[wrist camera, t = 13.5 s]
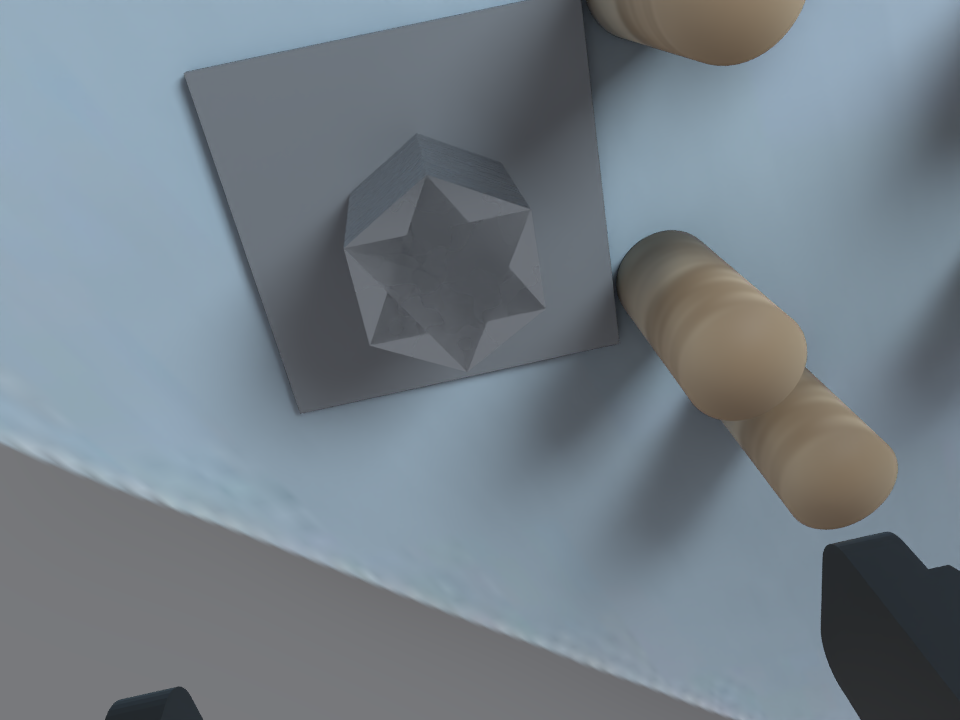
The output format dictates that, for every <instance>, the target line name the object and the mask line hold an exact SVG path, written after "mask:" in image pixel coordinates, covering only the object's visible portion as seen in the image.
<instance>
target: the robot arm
mask: <svg viewBox="0 0 960 720" xmlns="http://www.w3.org/2000/svg"><path fill="white" fill-rule="evenodd" d="M821 637H822V643H823V647H824V651H825V655H826V658H827V661H828V663H829V666H830V668H831V670H832V673H833V675H834V677H835V679H836V681H837V682H838V684H839V686H840V687H841V689H842V691H843V692H844V694H845V695H846V697H847V698H848V700H849V702H850V703H851V705H852V706H853V708H854V710H855V711H856V713H857V714H858V716H859V717H860V719H861V720H960V571H959V570H957V569H955V568H953V567H952V566H950V565H946V566H941V567H937V568H932V569H927V567H926V566H925V565H924V564H923V563H922V562H921V561H920V560H919V559H918V557H917V556H916V555H915V554H914V553H913V552H912V551H911V550H910V549H909V547H908V546H907V545H906V544H905V543H904V542H903V541H902V540H901V539H900V538H899V537H898V536H896V535H895V534H893V533H891V532H883V533H878V534H874V535H869V536H865V537H860V538H856V539H851V540H847V541H842V542H838V543H833V544H829V545H827V546H826V547H825V549H824V552H823V563H822V603H821ZM105 720H203V718H202V717H201V715H200V713H199V711H198V709H197V707H196V705H195V704H194V701H193V700H192V698H191V696H190V694H189V693H188V692H187V690H186V689H184V688H182V687H175V688H170V689H166V690H162V691H157V692H152V693H148V694H143V695H139V696H134V697H130V698H125V699H121V700H118V701H116V702H115V703H114V704H113V705H112V707H111V708H110V710H109V711H108V714H107V716H106V719H105Z"/></svg>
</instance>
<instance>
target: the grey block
mask: <svg viewBox="0 0 960 720" xmlns="http://www.w3.org/2000/svg"><path fill="white" fill-rule="evenodd" d="M344 252H345V255H346V259H347V263H348V266H349V270H350V274H351V278H352V281H353V285H354V289H355V292H356V296H357V300H358V304H359V307H360V311H361V315H362V318H363V322H364V326H365V330H366V333H367V337H368V341H369V344H370V346H373V347H377V348H380V349H384V350H388V351H391V352H395V353H399V354H403V355H406V356H410V357H414V358H417V359H421V360H425V361H429V362H432V363H436V364H440V365H443V366H447V367H451V368H455V369H458V370H462V371H466V372H468V371H469V370H470V369H472V368H473V367H474V366H475V365H477V364H478V363H479V362H480V361H482V360H483V359H484V358H485V357H487V356H488V355H489V354H490V353H492V352H493V351H494V350H495V349H497V348H498V347H499V346H500V345H501V344H503V343H504V342H505V341H506V340H508V339H509V338H510V337H511V336H513V335H514V334H515V333H516V332H518V331H519V330H520V329H521V328H523V327H524V326H525V325H526V324H528V323H529V322H530V321H531V320H533V319H534V318H535V317H536V316H537V315H539V314H540V313H541V312H542V311H544V310H545V309H546V306H545V300H544V293H543V286H542V279H541V273H540V266H539V259H538V252H537V245H536V239H535V232H534V225H533V218H532V212H531V208H530V207H529V205H528V204H527V202H526V201H525V199H524V197H523V196H522V194H521V193H520V191H519V189H518V188H517V186H516V185H515V183H514V182H513V180H512V178H511V177H510V175H509V174H508V172H507V170H506V169H505V167H504V166H503V164H502V163H501V162H499V161H496V160H493V159H490V158H487V157H484V156H481V155H478V154H476V153H473V152H470V151H467V150H464V149H461V148H458V147H455V146H452V145H450V144H447V143H444V142H441V141H438V140H435V139H432V138H429V137H426V136H423V135H421V134H418V133H416V134H415V135H414V136H413V137H412V138H410V139H409V140H408V141H407V142H406V143H405V144H404V145H403V146H402V147H401V148H399V149H398V150H397V151H396V152H395V153H394V154H393V155H392V156H391V157H390V158H388V159H387V160H386V161H385V162H384V163H383V164H382V165H381V166H380V167H378V168H377V169H376V170H375V171H374V172H373V173H372V174H371V175H370V176H369V177H367V178H366V179H365V180H364V181H363V182H362V183H361V184H360V185H359V186H358V187H356V188H355V189H354V190H353V191H352V192H351V193H350V196H349V205H348V214H347V223H346V232H345V240H344Z"/></svg>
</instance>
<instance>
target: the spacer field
mask: <svg viewBox="0 0 960 720" xmlns="http://www.w3.org/2000/svg"><path fill="white" fill-rule="evenodd" d="M586 2H587V5H588V8H589V10H590V12H591V14H592V15H593V17H594V19H595V20H596V21H597V22H598V23H599V25H601V26H602V27H603V28H604V29H605V30H606V31H608V32H609V33H611V34H613V35H615V36H617V37H620V38H623V39H626V40H630V41H633V42H636V43H640V44H643V45H646V46H650V47H653V48H656V49H660V50H663V51H666V52H669V53H673V54H676V55H679V56H683V57H686V58H689V59H693V60H696V61H699V62H703V63H706V64H710V65H717V66H729V65H736V64H740V63H743V62H747V61H749V60H752V59H754V58H756V57H758V56H760V55H761V54H763V53H765V52H766V51H768V50H769V49H770V48H772V47H773V46H774V45H775V44H776V43H777V42H779V41H780V40H781V39H782V38H783V37H784V35H785V34H786V33H787V32H788V31H789V29H790V28H791V27H792V25H793V24H794V22H795V21H796V19H797V17H798V16H799V14H800V12H801V10H802V8H803V5H804V3H805V0H586ZM616 289H617V294H618V298H619V300H620V302H621V304H622V306H623V307H624V309H625V310H626V312H627V313H628V314H629V316H630V317H631V318H632V320H633V321H634V323H635V324H636V325H637V327H638V328H639V330H640V331H641V332H642V334H643V335H644V336H645V338H646V339H647V341H648V342H649V343H650V345H651V346H652V348H653V349H654V350H655V352H656V353H657V355H658V356H659V357H660V359H661V360H662V361H663V363H664V364H665V366H666V367H667V368H668V370H669V371H670V373H671V374H672V375H673V377H674V378H675V379H676V381H677V382H678V384H679V385H680V386H681V388H682V389H683V391H684V392H685V393H686V395H687V396H688V398H689V399H690V400H691V402H692V403H693V404H694V406H695V407H696V408H697V409H698V410H700V411H701V412H703V413H704V414H706V415H708V416H710V417H712V418H715V419H719V420H721V421H722V422H723V424H724V425H725V426H726V428H727V429H728V430H729V432H730V433H731V434H732V436H733V437H734V438H735V439H736V441H737V442H738V443H739V445H740V446H741V447H742V449H743V450H744V451H745V453H746V454H747V455H748V457H749V458H750V459H751V461H752V462H753V463H754V465H755V466H756V467H757V469H758V470H759V471H760V473H761V474H762V475H763V477H764V478H765V479H766V480H767V482H768V483H769V484H770V486H771V487H772V488H773V490H774V491H775V492H776V494H777V495H778V496H779V498H780V499H781V500H782V502H783V503H784V504H785V506H786V507H787V508H788V510H789V511H790V512H791V514H792V515H793V516H794V517H795V518H796V519H797V520H798V521H799V522H801V523H802V524H804V525H806V526H808V527H811V528H815V529H825V530H827V529H837V528H842V527H845V526H849V525H851V524H854V523H856V522H858V521H860V520H862V519H864V518H865V517H867V516H868V515H870V514H871V513H872V512H874V511H875V510H876V509H877V508H878V507H879V506H880V505H881V504H882V503H883V502H884V501H885V500H886V498H887V497H888V496H889V494H890V492H891V491H892V489H893V486H894V484H895V481H896V478H897V473H898V464H897V459H896V456H895V454H894V452H893V450H892V449H891V448H890V446H889V445H888V444H887V443H886V442H884V441H883V440H882V439H881V438H880V437H879V436H878V435H877V434H876V433H875V432H874V431H873V430H872V429H871V428H870V427H868V426H867V425H866V424H865V423H864V422H863V421H862V420H861V419H860V418H859V417H858V416H857V415H856V414H855V413H854V412H852V411H851V410H850V409H849V408H848V407H847V406H846V405H845V404H844V403H843V402H842V401H841V400H840V399H839V398H838V397H837V396H835V395H834V394H833V393H832V392H831V391H830V390H829V389H828V388H827V387H826V386H825V385H824V384H823V383H822V382H821V381H819V380H818V379H817V378H816V377H815V376H814V375H813V374H812V373H811V372H810V371H809V370H808V369H807V368H806V367H805V364H806V360H807V345H806V340H805V337H804V334H803V332H802V330H801V329H800V327H799V326H798V324H797V323H796V322H795V321H794V320H793V319H792V318H790V317H789V316H788V315H787V314H786V313H785V312H783V311H782V310H781V309H780V308H779V307H778V306H776V305H775V304H774V303H773V302H772V301H771V300H769V299H768V298H767V297H766V296H765V295H764V294H762V293H761V292H760V291H759V290H758V289H756V288H755V287H754V286H753V285H752V284H751V283H749V282H748V281H747V280H746V279H745V278H744V277H742V276H741V275H740V274H739V273H738V272H737V271H735V270H734V269H733V268H732V267H731V266H730V265H728V264H727V263H726V262H725V261H724V260H722V259H721V258H720V257H719V256H718V255H717V254H715V253H714V252H713V251H712V250H711V249H710V248H708V247H707V246H706V245H705V244H704V243H703V242H701V241H700V240H699V239H698V238H696V237H695V236H693V235H691V234H689V233H686V232H682V231H676V230H668V231H661V232H658V233H654V234H652V235H649V236H647V237H646V238H644V239H642V240H641V241H639V242H638V243H637V244H636V245H635V246H633V247H632V248H631V249H630V251H629V252H628V253H627V254H626V256H625V257H624V259H623V261H622V263H621V265H620V267H619V270H618V274H617V280H616Z"/></svg>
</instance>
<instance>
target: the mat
mask: <svg viewBox="0 0 960 720" xmlns="http://www.w3.org/2000/svg"><path fill="white" fill-rule="evenodd" d="M184 76H185V78H186V81H187V84H188V87H189V90H190V93H191V96H192V99H193V102H194V105H195V108H196V111H197V114H198V116H199V119H200V122H201V125H202V128H203V131H204V134H205V137H206V140H207V143H208V146H209V149H210V151H211V154H212V157H213V160H214V163H215V166H216V169H217V172H218V175H219V178H220V181H221V184H222V186H223V189H224V192H225V195H226V198H227V201H228V204H229V207H230V210H231V213H232V216H233V219H234V222H235V224H236V227H237V230H238V233H239V236H240V239H241V242H242V245H243V248H244V251H245V254H246V257H247V259H248V262H249V265H250V268H251V271H252V274H253V277H254V280H255V283H256V286H257V289H258V292H259V294H260V297H261V300H262V303H263V306H264V309H265V312H266V315H267V318H268V321H269V324H270V327H271V329H272V332H273V335H274V338H275V341H276V344H277V347H278V350H279V353H280V356H281V359H282V362H283V365H284V367H285V370H286V373H287V376H288V379H289V382H290V385H291V388H292V391H293V394H294V397H295V400H296V402H297V405H298V408H299V411H300V414H301V413H306V412H310V411H315V410H319V409H324V408H329V407H333V406H338V405H342V404H347V403H351V402H356V401H360V400H365V399H369V398H374V397H379V396H383V395H388V394H392V393H397V392H401V391H406V390H410V389H415V388H419V387H424V386H429V385H433V384H438V383H442V382H447V381H451V380H456V379H460V378H465V377H469V376H474V375H478V374H483V373H488V372H492V371H497V370H501V369H506V368H510V367H515V366H519V365H524V364H528V363H533V362H538V361H542V360H547V359H551V358H556V357H560V356H565V355H569V354H574V353H578V352H583V351H588V350H592V349H597V348H601V347H606V346H610V345H615V344H619V334H618V325H617V316H616V307H615V298H614V289H613V280H612V271H611V262H610V253H609V244H608V235H607V227H606V218H605V209H604V200H603V191H602V182H601V173H600V164H599V155H598V146H597V137H596V128H595V120H594V111H593V102H592V93H591V84H590V75H589V66H588V57H587V48H586V39H585V30H584V21H583V12H582V4H581V0H526V1H521V2H516V3H511V4H507V5H502V6H497V7H492V8H487V9H483V10H478V11H473V12H468V13H464V14H459V15H454V16H449V17H445V18H440V19H435V20H430V21H426V22H421V23H416V24H411V25H407V26H402V27H397V28H392V29H387V30H383V31H378V32H373V33H368V34H364V35H359V36H354V37H349V38H345V39H340V40H335V41H330V42H326V43H321V44H316V45H311V46H307V47H302V48H297V49H292V50H288V51H283V52H278V53H273V54H268V55H264V56H259V57H254V58H249V59H245V60H240V61H235V62H230V63H226V64H221V65H216V66H211V67H207V68H202V69H197V70H192V71H188V72H185V73H184ZM416 133H418V134H421V135H423V136H426V137H429V138H432V139H435V140H438V141H441V142H444V143H447V144H450V145H452V146H455V147H458V148H461V149H464V150H467V151H470V152H473V153H476V154H478V155H481V156H484V157H487V158H490V159H493V160H496V161H499V162H501V163H502V164H503V166H504V167H505V169H506V170H507V172H508V174H509V175H510V177H511V178H512V180H513V182H514V183H515V185H516V186H517V188H518V189H519V191H520V193H521V194H522V196H523V197H524V199H525V201H526V202H527V204H528V205H529V207H530V208H531V212H532V218H533V225H534V232H535V239H536V245H537V252H538V259H539V266H540V273H541V279H542V286H543V293H544V300H545V306H546V309H545V310H544V311H542V312H541V313H540V314H539V315H537V316H536V317H535V318H534V319H533V320H531V321H530V322H529V323H528V324H526V325H525V326H524V327H523V328H521V329H520V330H519V331H518V332H516V333H515V334H514V335H513V336H511V337H510V338H509V339H508V340H506V341H505V342H504V343H503V344H501V345H500V346H499V347H498V348H497V349H495V350H494V351H493V352H492V353H490V354H489V355H488V356H487V357H485V358H484V359H483V360H482V361H480V362H479V363H478V364H477V365H475V366H474V367H473V368H472V369H470V370H469V371H468V372H466V371H462V370H458V369H455V368H451V367H447V366H443V365H440V364H436V363H432V362H429V361H425V360H421V359H417V358H414V357H410V356H406V355H403V354H399V353H395V352H391V351H388V350H384V349H380V348H377V347H373V346H370V344H369V341H368V337H367V333H366V330H365V326H364V322H363V318H362V315H361V311H360V307H359V304H358V300H357V296H356V292H355V289H354V285H353V281H352V278H351V274H350V270H349V266H348V263H347V259H346V255H345V252H344V240H345V232H346V223H347V214H348V205H349V196H350V193H351V192H352V191H353V190H354V189H355V188H356V187H358V186H359V185H360V184H361V183H362V182H363V181H364V180H365V179H366V178H367V177H369V176H370V175H371V174H372V173H373V172H374V171H375V170H376V169H377V168H378V167H380V166H381V165H382V164H383V163H384V162H385V161H386V160H387V159H388V158H390V157H391V156H392V155H393V154H394V153H395V152H396V151H397V150H398V149H399V148H401V147H402V146H403V145H404V144H405V143H406V142H407V141H408V140H409V139H410V138H412V137H413V136H414V135H415V134H416Z"/></svg>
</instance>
